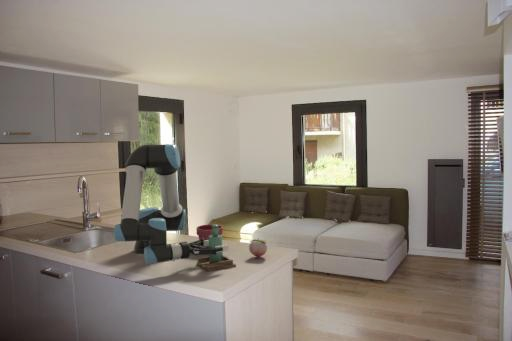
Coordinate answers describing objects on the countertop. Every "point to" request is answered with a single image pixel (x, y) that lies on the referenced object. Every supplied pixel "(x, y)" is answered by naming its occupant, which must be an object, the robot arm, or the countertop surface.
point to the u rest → (215, 264)
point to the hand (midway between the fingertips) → (222, 244)
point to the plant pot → (207, 232)
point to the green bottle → (215, 244)
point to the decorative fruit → (258, 247)
